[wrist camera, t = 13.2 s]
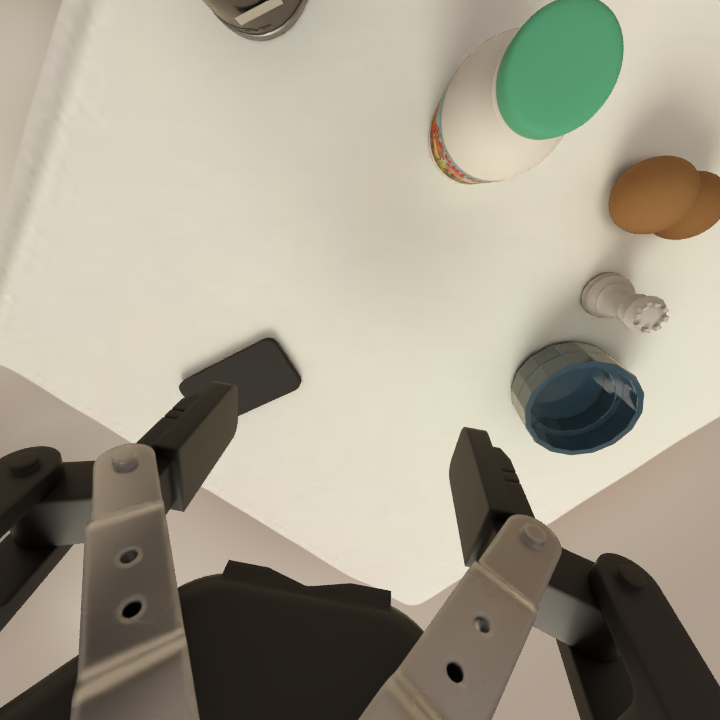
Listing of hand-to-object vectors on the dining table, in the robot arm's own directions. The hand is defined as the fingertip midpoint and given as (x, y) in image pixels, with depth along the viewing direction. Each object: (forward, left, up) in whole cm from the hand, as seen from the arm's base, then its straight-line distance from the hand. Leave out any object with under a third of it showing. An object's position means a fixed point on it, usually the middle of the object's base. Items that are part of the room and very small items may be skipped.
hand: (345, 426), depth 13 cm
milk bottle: (-13, +6, -28) cm, 32 cm away
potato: (-10, +23, -28) cm, 38 cm away
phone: (+17, -15, -28) cm, 36 cm away
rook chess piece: (-1, +23, -28) cm, 36 cm away
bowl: (+10, +23, -28) cm, 38 cm away
